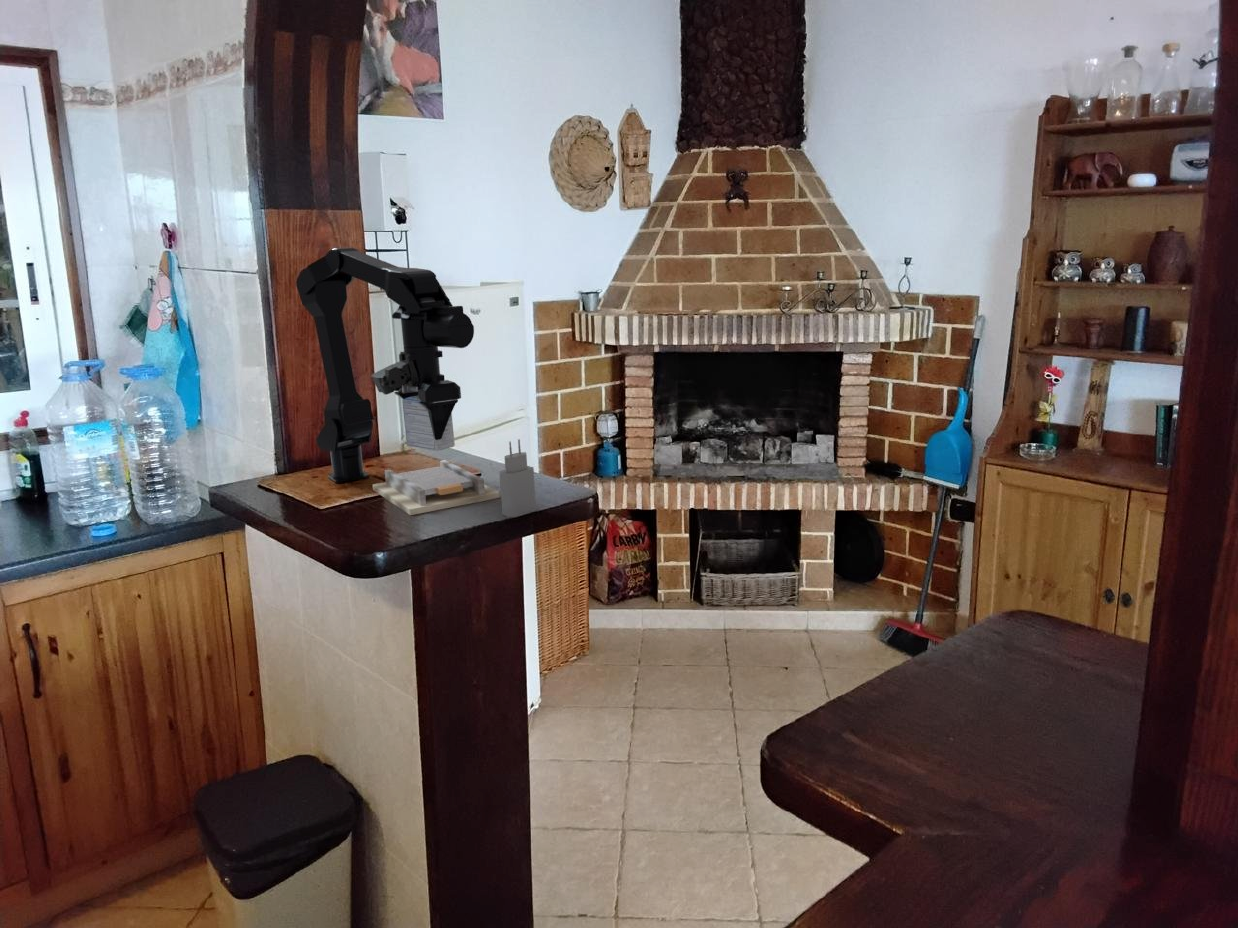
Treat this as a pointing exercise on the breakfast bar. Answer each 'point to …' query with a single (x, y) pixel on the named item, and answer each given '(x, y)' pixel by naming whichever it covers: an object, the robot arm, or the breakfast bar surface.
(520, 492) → the power adapter
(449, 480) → the rail carriage
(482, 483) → the rail board
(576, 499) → the breakfast bar surface
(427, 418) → the medicine box
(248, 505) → the breakfast bar surface
